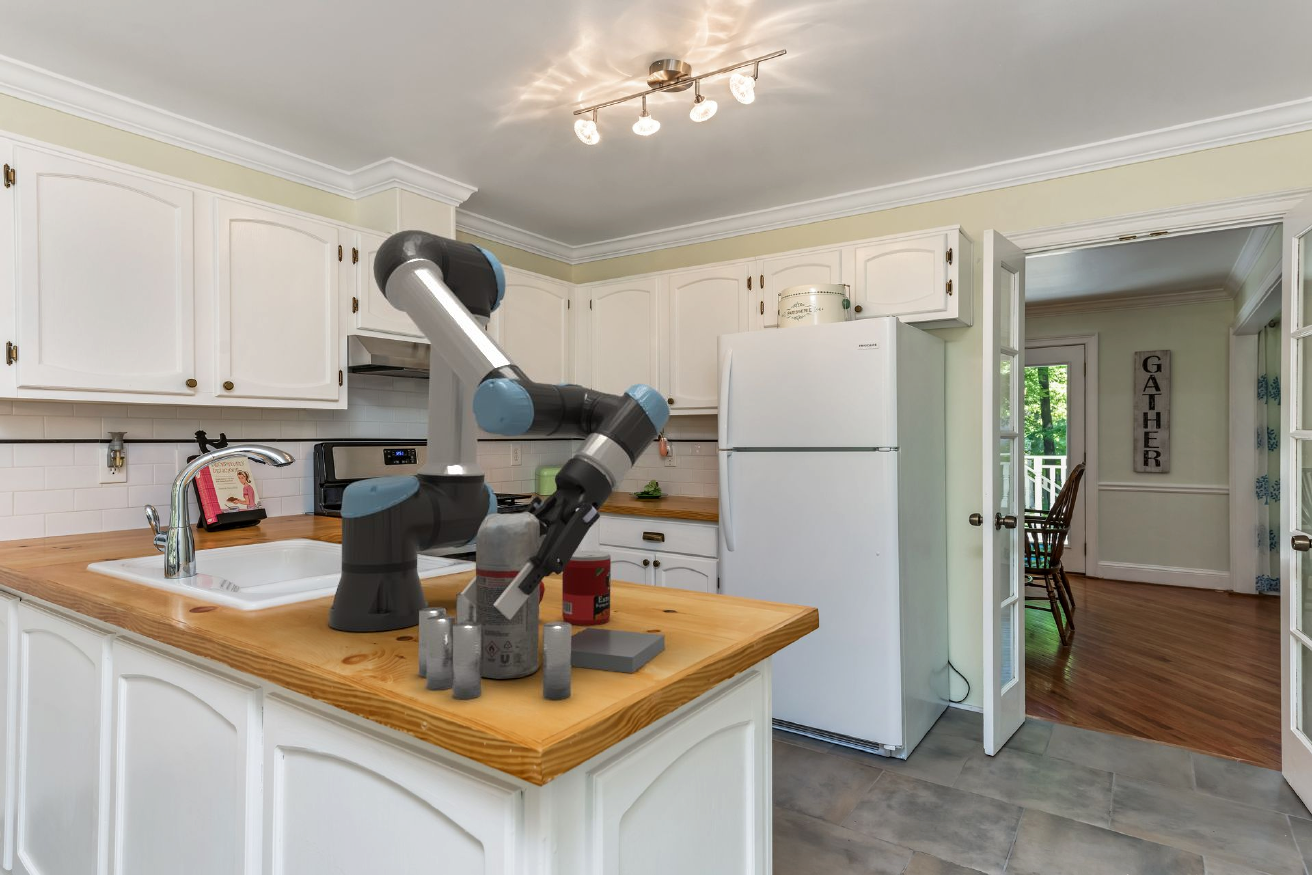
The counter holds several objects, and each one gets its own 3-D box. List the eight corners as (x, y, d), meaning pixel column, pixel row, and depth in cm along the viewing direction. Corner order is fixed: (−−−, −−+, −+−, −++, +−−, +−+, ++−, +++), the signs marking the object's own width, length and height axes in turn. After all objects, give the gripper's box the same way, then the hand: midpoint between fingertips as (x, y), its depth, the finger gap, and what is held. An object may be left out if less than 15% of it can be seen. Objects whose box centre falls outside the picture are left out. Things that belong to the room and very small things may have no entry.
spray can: (554, 670, 95) (554, 512, 95) (501, 685, 89) (501, 517, 89) (513, 658, 100) (513, 509, 101) (461, 671, 94) (461, 513, 95)
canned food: (603, 627, 118) (603, 557, 118) (555, 624, 120) (555, 555, 120) (615, 616, 126) (616, 551, 126) (570, 614, 127) (570, 549, 127)
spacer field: (373, 686, 88) (374, 618, 88) (464, 647, 105) (465, 591, 106) (547, 711, 80) (547, 637, 80) (615, 665, 97) (615, 603, 97)
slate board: (548, 663, 98) (548, 647, 98) (587, 641, 109) (587, 627, 109) (632, 673, 94) (632, 657, 94) (664, 649, 105) (664, 635, 105)
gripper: (655, 496, 97) (547, 641, 86) (566, 489, 113) (467, 610, 102) (622, 456, 93) (506, 601, 83) (536, 454, 109) (430, 575, 99)
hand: (484, 606), depth 92 cm, fingers closed on spray can, 8 cm apart
